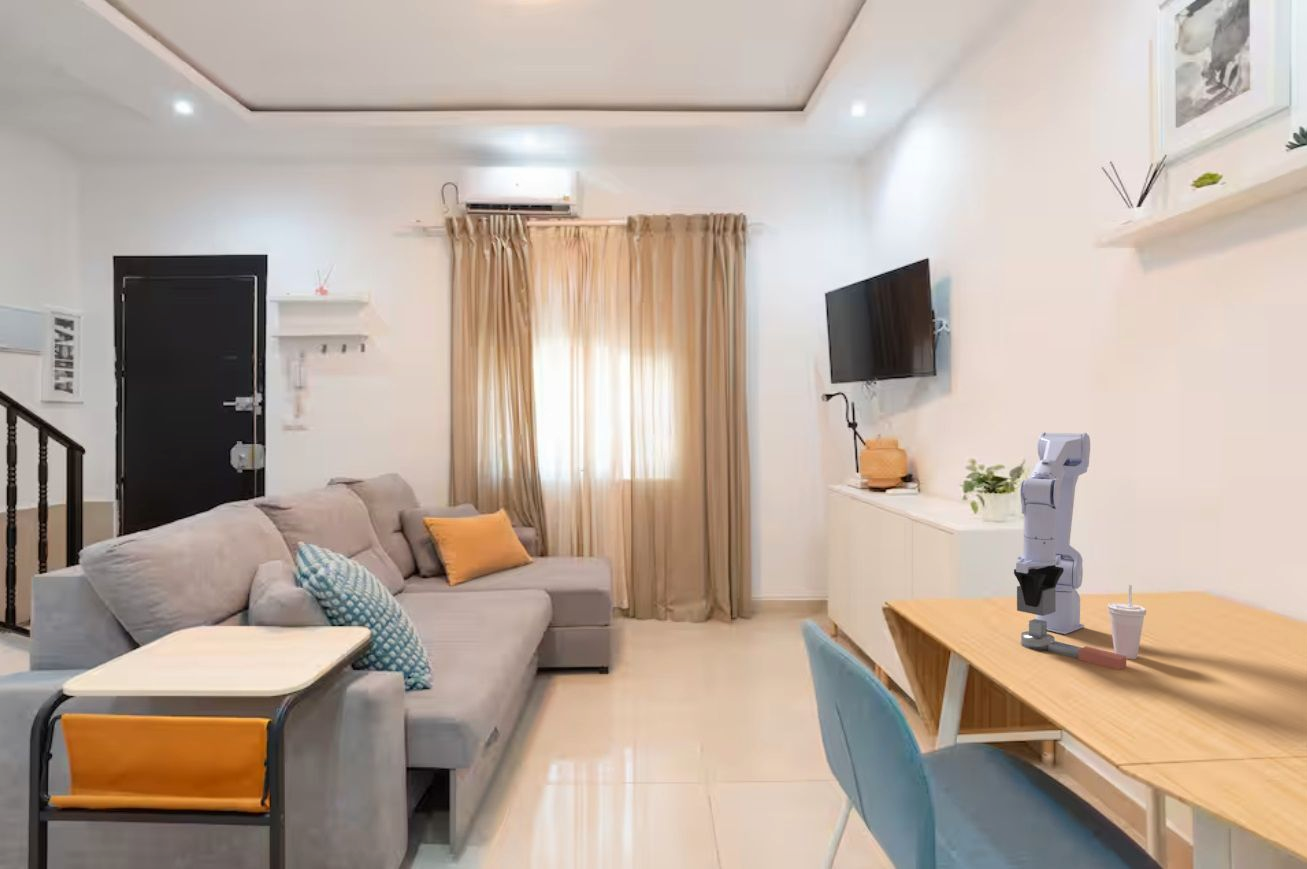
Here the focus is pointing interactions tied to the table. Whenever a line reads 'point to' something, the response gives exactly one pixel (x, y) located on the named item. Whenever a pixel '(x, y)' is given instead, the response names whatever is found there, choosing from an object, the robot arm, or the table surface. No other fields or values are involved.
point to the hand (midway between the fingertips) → (1038, 603)
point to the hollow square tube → (1044, 604)
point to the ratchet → (1067, 647)
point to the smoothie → (1126, 626)
